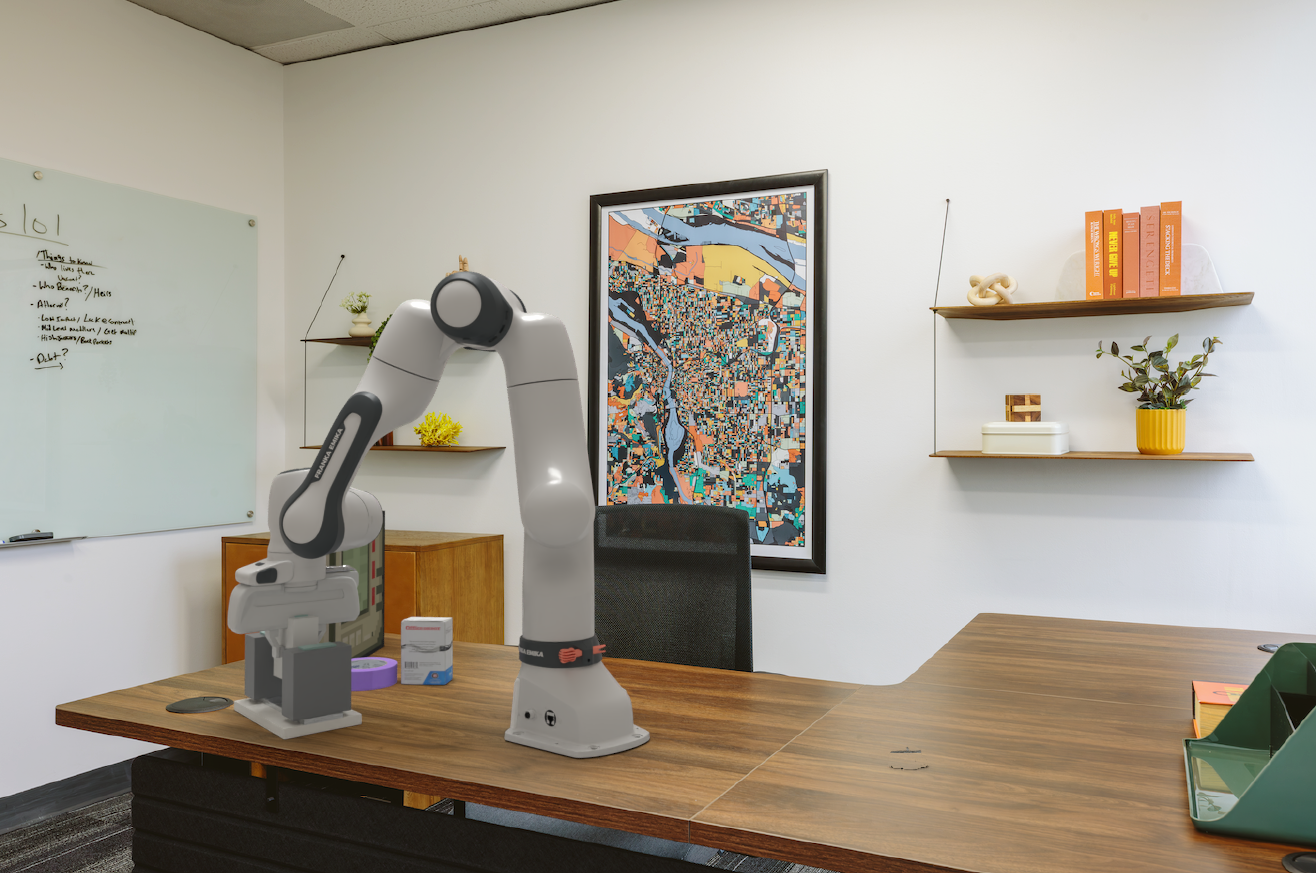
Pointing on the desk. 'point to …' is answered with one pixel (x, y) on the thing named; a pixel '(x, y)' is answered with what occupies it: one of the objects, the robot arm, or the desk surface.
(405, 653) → the ink box
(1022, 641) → the desk surface
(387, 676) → the masking tape
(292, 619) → the block
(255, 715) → the mounting board
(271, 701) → the rail
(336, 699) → the mounted modules
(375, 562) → the control panel
